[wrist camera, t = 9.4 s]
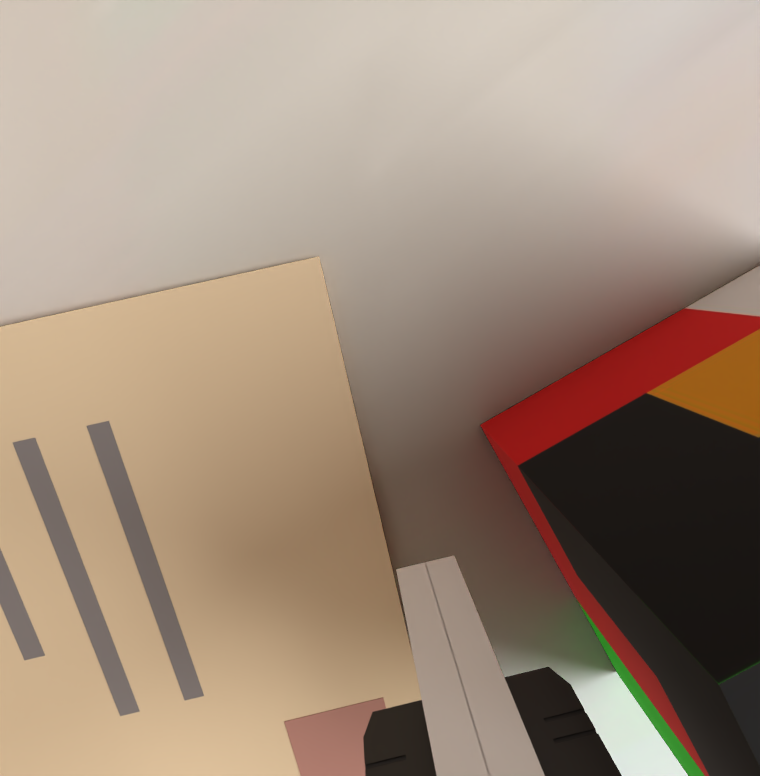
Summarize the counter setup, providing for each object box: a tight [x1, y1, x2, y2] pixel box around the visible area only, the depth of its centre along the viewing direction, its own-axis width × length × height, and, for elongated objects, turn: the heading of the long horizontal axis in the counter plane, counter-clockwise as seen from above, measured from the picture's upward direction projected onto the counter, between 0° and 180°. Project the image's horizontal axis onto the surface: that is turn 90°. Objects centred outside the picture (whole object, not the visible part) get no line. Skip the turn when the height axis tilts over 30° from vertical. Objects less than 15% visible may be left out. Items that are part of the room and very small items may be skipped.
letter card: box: [0, 256, 422, 776], centre depth 16 cm, size 18×16×1 cm
